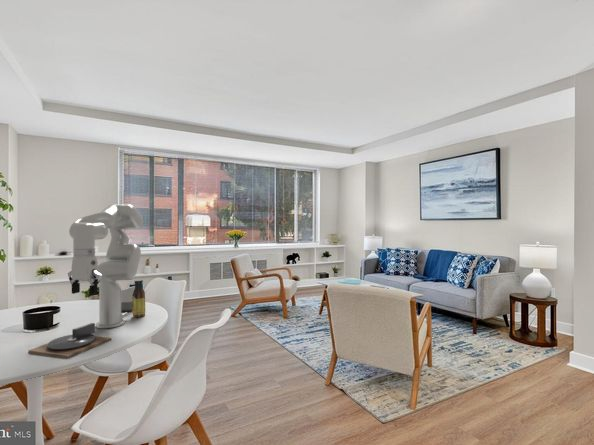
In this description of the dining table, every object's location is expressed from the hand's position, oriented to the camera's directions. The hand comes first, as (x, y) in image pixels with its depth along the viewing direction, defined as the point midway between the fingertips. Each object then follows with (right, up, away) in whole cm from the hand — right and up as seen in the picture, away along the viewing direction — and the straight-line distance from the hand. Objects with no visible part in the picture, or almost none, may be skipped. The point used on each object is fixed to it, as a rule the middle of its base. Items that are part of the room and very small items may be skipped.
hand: (84, 293), depth 136 cm
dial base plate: (-4, -21, -1) cm, 22 cm away
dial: (-4, -20, 0) cm, 20 cm away
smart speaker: (-9, -22, +54) cm, 59 cm away
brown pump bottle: (+3, -22, +41) cm, 47 cm away
